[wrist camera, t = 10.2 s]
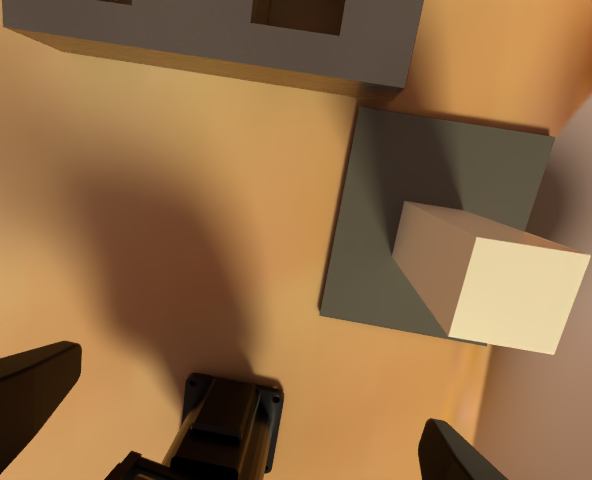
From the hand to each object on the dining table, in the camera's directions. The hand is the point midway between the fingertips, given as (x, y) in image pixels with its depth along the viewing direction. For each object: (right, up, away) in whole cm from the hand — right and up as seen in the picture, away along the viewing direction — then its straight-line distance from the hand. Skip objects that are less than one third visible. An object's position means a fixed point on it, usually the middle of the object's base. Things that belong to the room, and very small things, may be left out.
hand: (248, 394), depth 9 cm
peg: (+8, +4, +10) cm, 14 cm away
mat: (+9, +4, +11) cm, 14 cm away
